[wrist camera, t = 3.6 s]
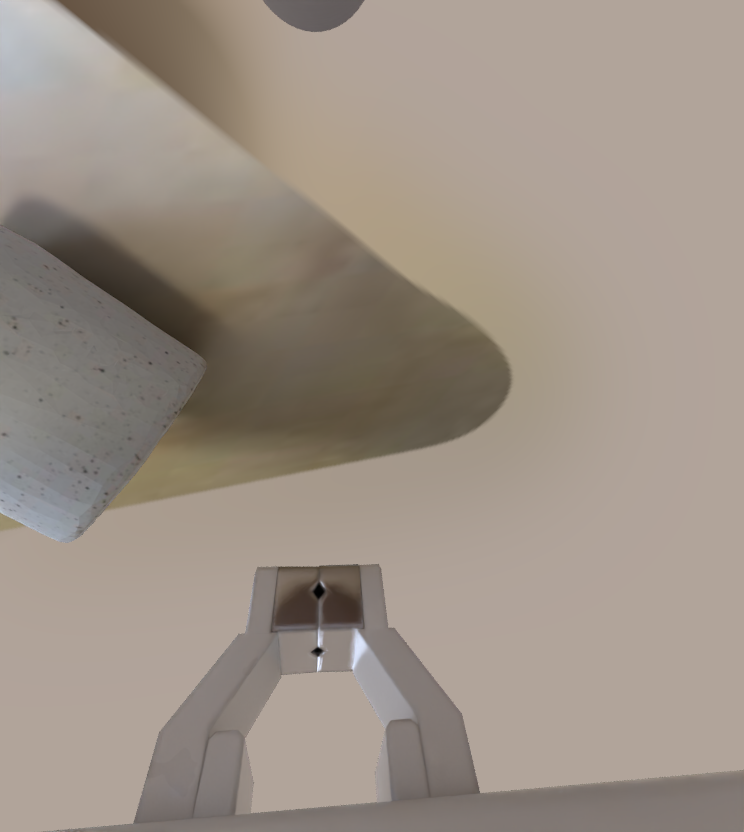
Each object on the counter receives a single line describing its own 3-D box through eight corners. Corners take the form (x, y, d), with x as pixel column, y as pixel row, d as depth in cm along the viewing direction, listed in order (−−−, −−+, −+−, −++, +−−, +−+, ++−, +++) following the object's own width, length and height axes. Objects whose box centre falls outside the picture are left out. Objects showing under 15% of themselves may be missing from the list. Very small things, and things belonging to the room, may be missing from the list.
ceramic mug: (4, 170, 13) (-279, 224, 7) (229, 331, 17) (168, 459, 11) (-89, 384, 18) (-322, 536, 11) (108, 477, 21) (14, 631, 15)
